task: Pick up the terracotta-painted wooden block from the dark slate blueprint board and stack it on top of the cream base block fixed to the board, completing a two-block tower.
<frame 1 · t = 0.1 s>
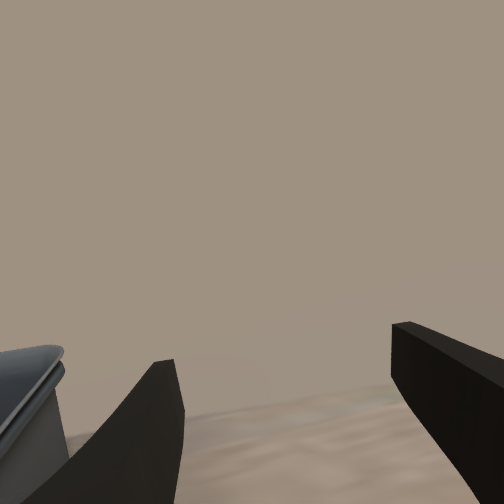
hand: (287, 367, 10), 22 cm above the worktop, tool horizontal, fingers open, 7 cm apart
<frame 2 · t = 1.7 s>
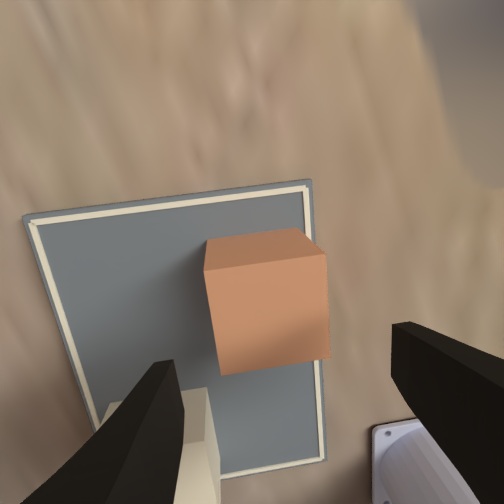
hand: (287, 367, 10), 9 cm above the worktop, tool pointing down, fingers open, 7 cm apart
blueprint board: (202, 354, 20), on the worktop
terracotta block: (257, 275, 18), point 1 cm above the worktop, touching blueprint board
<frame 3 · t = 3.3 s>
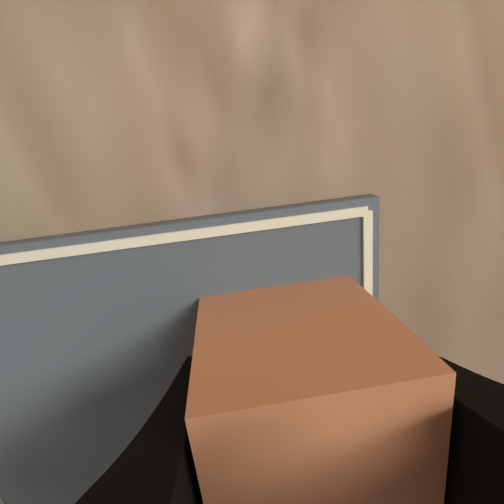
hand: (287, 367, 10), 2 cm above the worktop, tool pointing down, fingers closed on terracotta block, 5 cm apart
blueprint board: (193, 462, 13), on the worktop
terracotta block: (282, 351, 11), point 1 cm above the worktop, touching blueprint board, gripper
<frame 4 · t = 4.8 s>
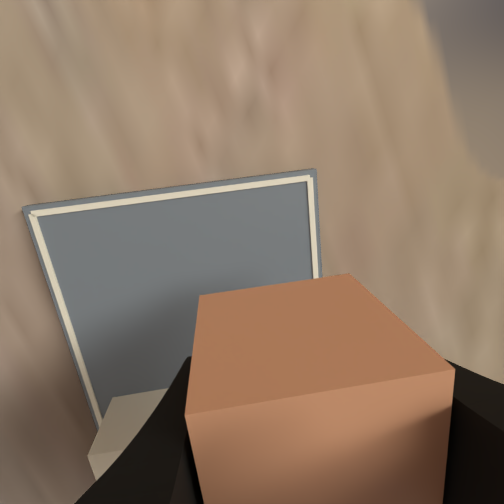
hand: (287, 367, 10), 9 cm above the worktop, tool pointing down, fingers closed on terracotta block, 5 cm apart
blueprint board: (205, 348, 20), on the worktop
terracotta block: (281, 349, 11), point 8 cm above the worktop, touching gripper
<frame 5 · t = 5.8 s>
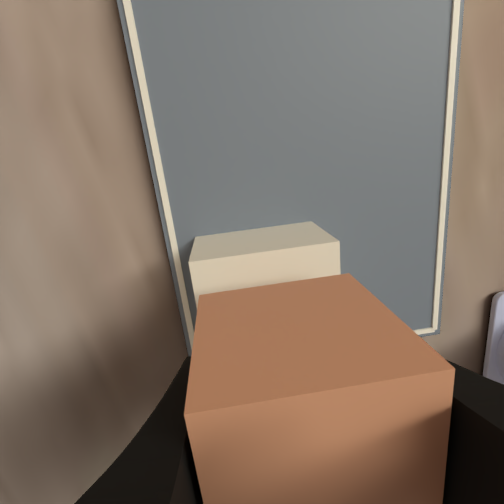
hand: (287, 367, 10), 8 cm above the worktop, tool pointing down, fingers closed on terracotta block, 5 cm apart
blueprint board: (306, 181, 17), on the worktop
terracotta block: (281, 349, 11), point 7 cm above the worktop, touching gripper
when the fingers open (7 cm above the worktop, at t = 6.5 s): terracotta block stays where it is, resting on blueprint board.
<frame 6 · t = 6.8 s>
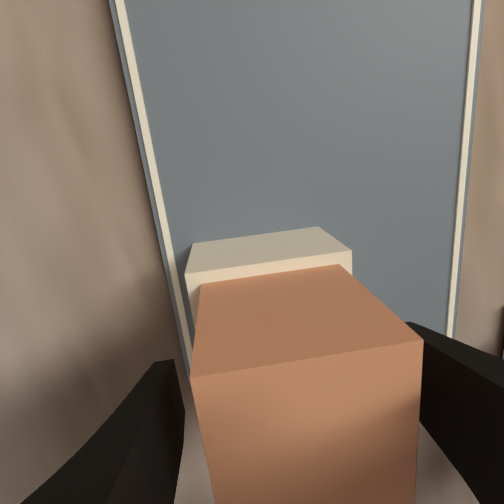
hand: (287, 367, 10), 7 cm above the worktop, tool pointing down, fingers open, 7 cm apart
blueprint board: (312, 182, 15), on the worktop
terracotta block: (277, 334, 12), point 5 cm above the worktop, touching blueprint board
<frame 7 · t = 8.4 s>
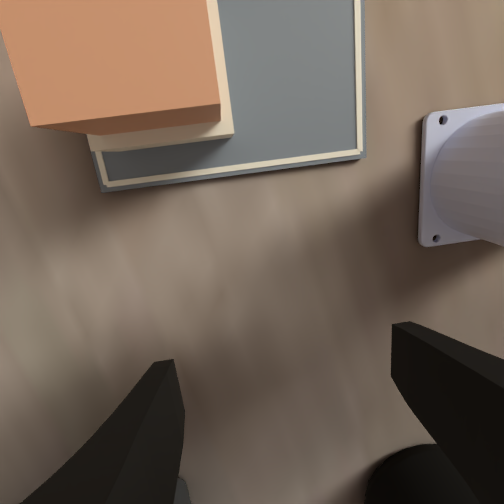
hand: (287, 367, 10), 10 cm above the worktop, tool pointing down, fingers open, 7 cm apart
coffee jar: (416, 483, 28), on the worktop
terracotta block: (147, 60, 12), point 5 cm above the worktop, touching blueprint board
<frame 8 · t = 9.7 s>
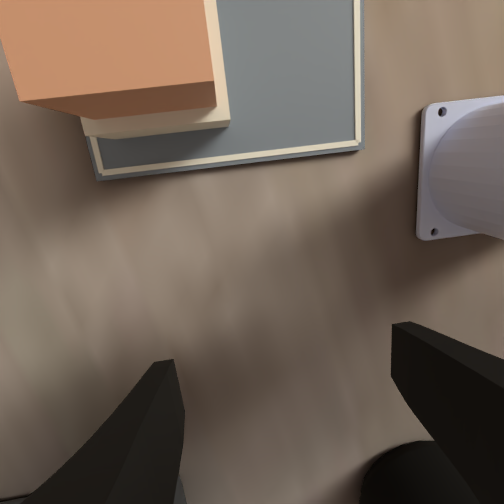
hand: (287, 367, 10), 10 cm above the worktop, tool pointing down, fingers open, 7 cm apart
coffee jar: (412, 480, 28), on the worktop
terracotta block: (142, 42, 12), point 5 cm above the worktop, touching blueprint board
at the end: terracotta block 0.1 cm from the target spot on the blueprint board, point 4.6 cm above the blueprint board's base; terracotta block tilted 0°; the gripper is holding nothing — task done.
